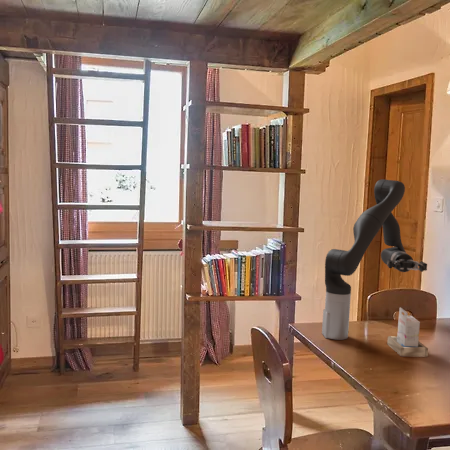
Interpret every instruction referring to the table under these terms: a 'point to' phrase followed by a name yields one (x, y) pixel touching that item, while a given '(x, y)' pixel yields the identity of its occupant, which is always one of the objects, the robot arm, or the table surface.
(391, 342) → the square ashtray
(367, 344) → the table surface
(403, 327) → the ink box
